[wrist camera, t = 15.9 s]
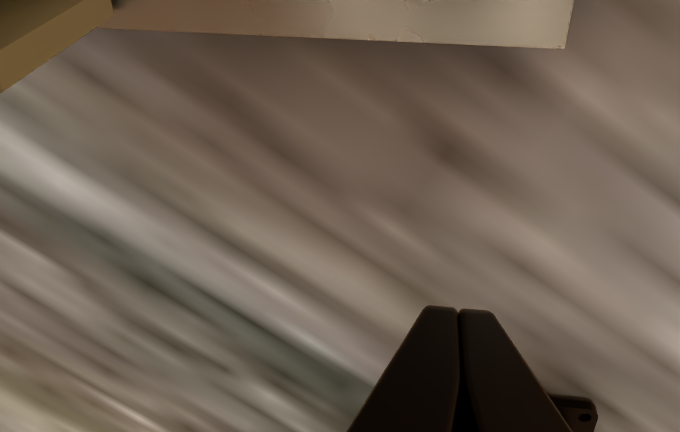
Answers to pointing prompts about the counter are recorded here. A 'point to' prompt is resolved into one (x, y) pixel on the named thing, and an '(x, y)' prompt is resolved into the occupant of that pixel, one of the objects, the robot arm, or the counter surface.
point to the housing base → (359, 19)
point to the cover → (42, 31)
